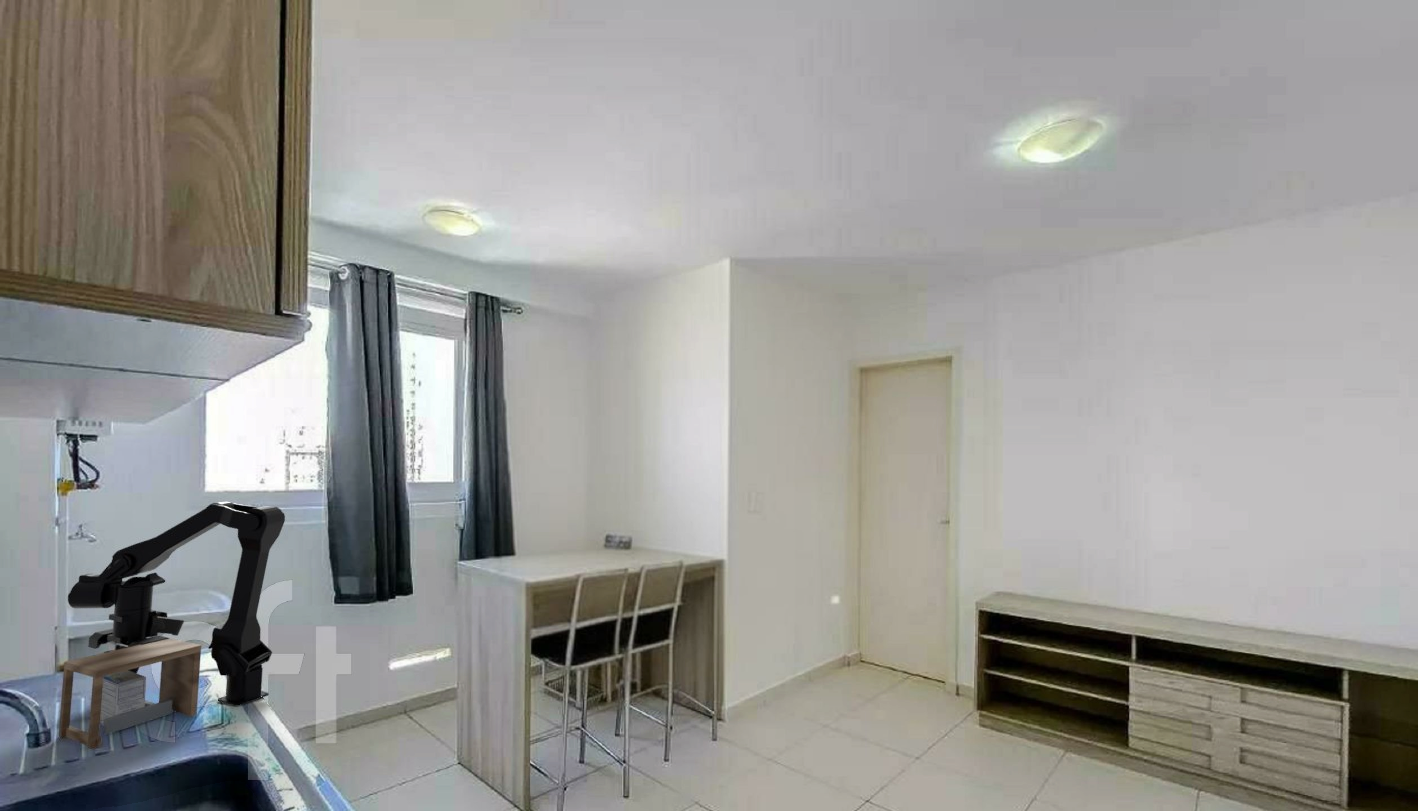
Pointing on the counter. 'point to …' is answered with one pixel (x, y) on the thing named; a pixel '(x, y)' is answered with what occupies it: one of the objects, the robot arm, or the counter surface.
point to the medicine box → (122, 694)
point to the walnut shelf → (175, 669)
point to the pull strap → (137, 716)
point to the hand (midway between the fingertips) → (127, 685)
